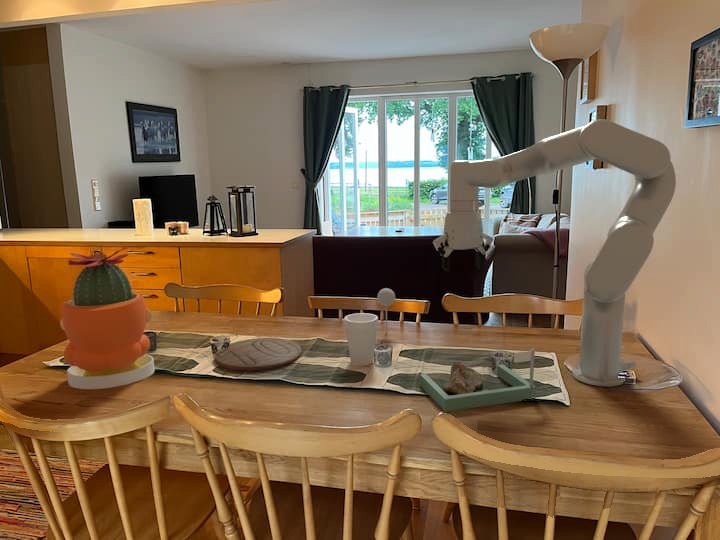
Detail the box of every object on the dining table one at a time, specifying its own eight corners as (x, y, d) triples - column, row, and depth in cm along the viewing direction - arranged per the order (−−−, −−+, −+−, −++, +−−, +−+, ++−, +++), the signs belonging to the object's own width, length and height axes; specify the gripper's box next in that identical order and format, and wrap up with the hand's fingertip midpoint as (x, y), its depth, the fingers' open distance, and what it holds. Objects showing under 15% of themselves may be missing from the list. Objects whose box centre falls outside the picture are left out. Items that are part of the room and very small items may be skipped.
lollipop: (375, 330, 184) (374, 287, 181) (391, 328, 186) (391, 285, 183) (381, 335, 178) (380, 291, 175) (398, 333, 180) (397, 289, 177)
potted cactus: (71, 371, 152) (56, 247, 146) (156, 360, 160) (145, 241, 153) (60, 401, 132) (41, 259, 126) (157, 387, 140) (144, 252, 133)
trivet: (240, 380, 145) (239, 373, 144) (201, 356, 164) (200, 350, 163) (317, 358, 160) (317, 351, 160) (273, 338, 179) (273, 332, 179)
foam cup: (375, 368, 150) (374, 323, 147) (342, 366, 152) (341, 321, 149) (380, 356, 159) (380, 313, 156) (349, 355, 161) (348, 312, 158)
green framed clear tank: (502, 375, 144) (503, 331, 141) (535, 398, 129) (537, 350, 127) (420, 385, 138) (420, 340, 136) (445, 411, 123) (445, 361, 121)
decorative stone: (483, 360, 141) (481, 389, 127) (482, 375, 142) (481, 405, 129) (446, 357, 143) (440, 385, 130) (446, 372, 145) (440, 401, 131)
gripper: (486, 204, 152) (485, 265, 155) (428, 207, 148) (428, 269, 151) (500, 206, 145) (498, 270, 148) (439, 209, 141) (439, 274, 144)
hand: (462, 269), depth 150 cm, fingers open, 9 cm apart
